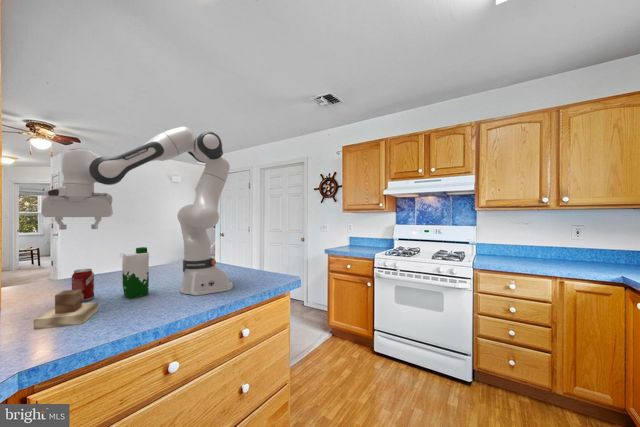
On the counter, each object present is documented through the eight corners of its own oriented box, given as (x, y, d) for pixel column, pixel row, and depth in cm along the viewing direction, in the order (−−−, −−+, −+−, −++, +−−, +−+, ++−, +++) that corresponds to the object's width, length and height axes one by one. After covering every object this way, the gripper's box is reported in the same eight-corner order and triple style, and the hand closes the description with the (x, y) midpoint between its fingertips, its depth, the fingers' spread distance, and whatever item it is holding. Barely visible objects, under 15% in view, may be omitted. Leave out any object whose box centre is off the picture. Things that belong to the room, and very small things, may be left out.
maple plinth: (98, 310, 98) (98, 302, 98) (82, 323, 86) (82, 314, 86) (55, 314, 93) (55, 305, 93) (33, 329, 82) (33, 319, 82)
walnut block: (81, 306, 93) (81, 289, 93) (74, 311, 88) (74, 293, 88) (63, 308, 91) (63, 290, 91) (55, 313, 87) (54, 295, 87)
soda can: (81, 303, 104) (80, 272, 104) (67, 301, 105) (66, 271, 105) (98, 297, 111) (98, 268, 110) (85, 296, 112) (85, 267, 112)
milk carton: (151, 295, 115) (150, 248, 114) (125, 300, 108) (125, 250, 108) (145, 290, 121) (145, 246, 120) (120, 295, 114) (120, 248, 114)
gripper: (115, 193, 107) (115, 228, 107) (48, 191, 100) (49, 229, 100) (109, 192, 101) (109, 229, 101) (38, 191, 94) (38, 230, 94)
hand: (79, 229), depth 101 cm, fingers open, 8 cm apart
